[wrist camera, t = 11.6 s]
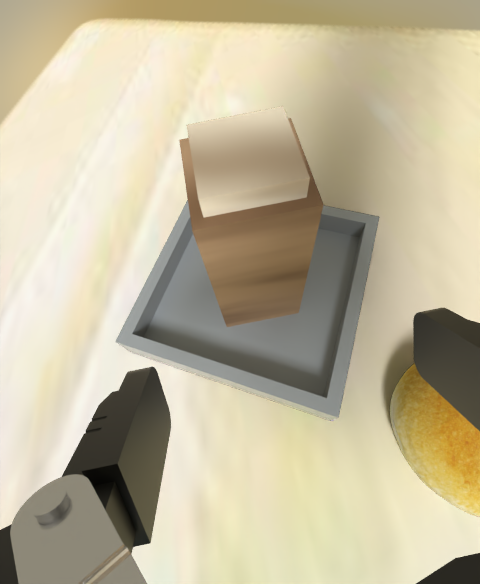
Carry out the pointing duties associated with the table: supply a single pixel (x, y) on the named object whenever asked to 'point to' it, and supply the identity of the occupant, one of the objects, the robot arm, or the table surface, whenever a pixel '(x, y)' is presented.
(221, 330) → the tray
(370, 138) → the table surface
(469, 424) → the bread roll
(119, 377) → the table surface
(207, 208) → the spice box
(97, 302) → the table surface
